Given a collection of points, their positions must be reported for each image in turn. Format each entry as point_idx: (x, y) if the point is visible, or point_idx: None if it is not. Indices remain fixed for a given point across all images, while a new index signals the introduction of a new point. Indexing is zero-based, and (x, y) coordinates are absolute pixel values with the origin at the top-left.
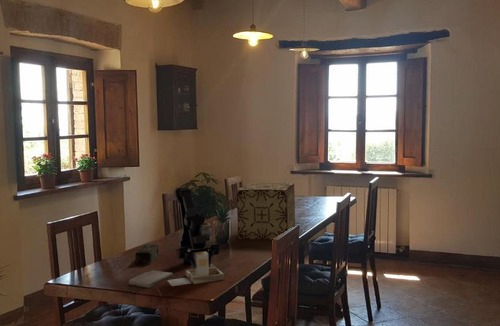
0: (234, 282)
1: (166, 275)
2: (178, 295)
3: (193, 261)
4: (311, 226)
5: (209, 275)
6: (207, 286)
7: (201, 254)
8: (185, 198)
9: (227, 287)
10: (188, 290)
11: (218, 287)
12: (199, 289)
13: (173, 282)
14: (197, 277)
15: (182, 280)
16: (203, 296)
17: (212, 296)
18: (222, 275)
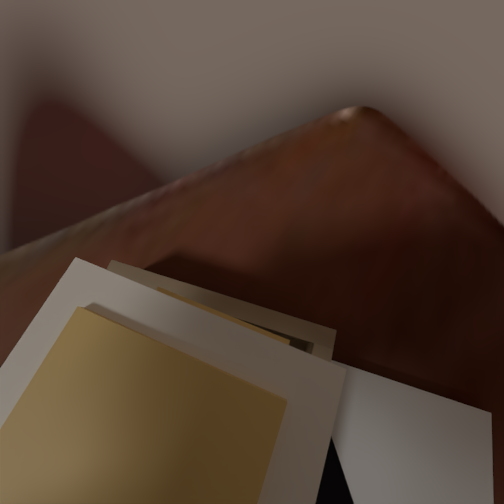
0: (126, 213)
1: None
2: (477, 239)
3: (328, 479)
4: None
5: None
6: (269, 256)
7: (199, 356)
8: None
9: (204, 178)
10: (394, 272)
11: (236, 205)
12: (332, 244)
13: (453, 501)
14: (299, 333)
15: (362, 489)
16: (364, 153)
17: (329, 132)
18: (128, 265)
